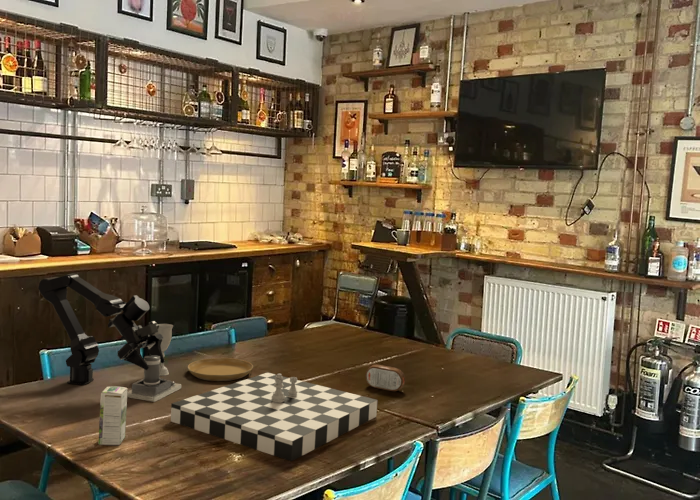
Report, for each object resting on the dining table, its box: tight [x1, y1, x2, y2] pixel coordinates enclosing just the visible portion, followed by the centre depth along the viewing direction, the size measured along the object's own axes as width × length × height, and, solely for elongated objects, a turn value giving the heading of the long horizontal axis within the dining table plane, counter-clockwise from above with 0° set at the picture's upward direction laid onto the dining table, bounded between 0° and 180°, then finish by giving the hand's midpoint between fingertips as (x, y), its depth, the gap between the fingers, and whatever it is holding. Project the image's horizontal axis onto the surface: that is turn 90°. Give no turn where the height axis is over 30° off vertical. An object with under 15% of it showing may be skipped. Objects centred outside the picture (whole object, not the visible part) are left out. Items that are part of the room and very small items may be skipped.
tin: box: [364, 363, 406, 392], centre depth 241 cm, size 15×3×8 cm, turn 65°
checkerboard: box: [170, 372, 378, 462], centre depth 204 cm, size 45×45×15 cm
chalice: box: [154, 323, 174, 377], centre depth 244 cm, size 7×7×18 cm
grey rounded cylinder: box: [143, 354, 161, 386], centre depth 220 cm, size 5×5×11 cm
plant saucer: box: [187, 357, 254, 382], centre depth 249 cm, size 24×24×3 cm
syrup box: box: [98, 385, 128, 446], centre depth 179 cm, size 6×6×14 cm
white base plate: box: [127, 377, 182, 403], centre depth 222 cm, size 11×16×4 cm
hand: (155, 365), depth 220 cm, fingers open, 9 cm apart
